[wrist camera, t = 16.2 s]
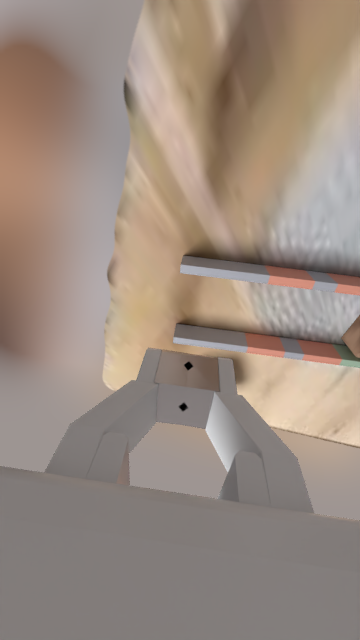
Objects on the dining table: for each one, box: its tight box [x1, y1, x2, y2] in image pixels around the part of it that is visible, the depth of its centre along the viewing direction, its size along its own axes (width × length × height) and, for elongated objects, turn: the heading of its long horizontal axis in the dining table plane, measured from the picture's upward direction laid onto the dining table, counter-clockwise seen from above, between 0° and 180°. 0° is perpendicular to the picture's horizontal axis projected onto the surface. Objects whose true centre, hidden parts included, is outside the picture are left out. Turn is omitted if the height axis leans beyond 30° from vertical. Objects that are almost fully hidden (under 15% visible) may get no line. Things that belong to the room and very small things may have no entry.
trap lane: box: [173, 255, 360, 368], centre depth 38 cm, size 13×38×4 cm, turn 85°
